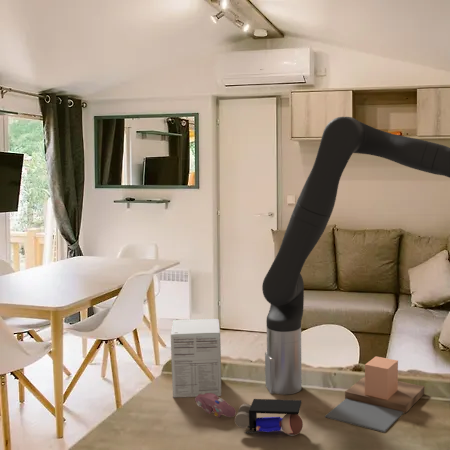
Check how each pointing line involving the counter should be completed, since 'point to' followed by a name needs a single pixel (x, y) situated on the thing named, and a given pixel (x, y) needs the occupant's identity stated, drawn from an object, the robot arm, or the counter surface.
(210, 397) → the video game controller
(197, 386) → the supplement box
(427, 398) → the counter surface
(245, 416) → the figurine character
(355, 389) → the board
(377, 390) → the block
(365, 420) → the mat
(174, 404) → the counter surface
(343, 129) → the robot arm
